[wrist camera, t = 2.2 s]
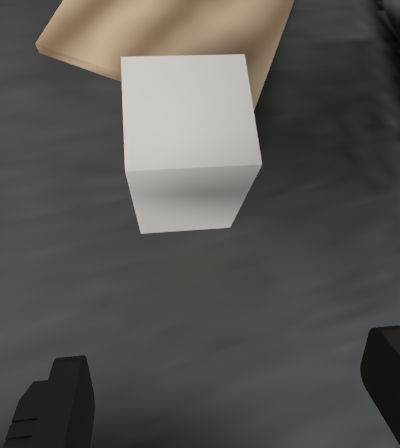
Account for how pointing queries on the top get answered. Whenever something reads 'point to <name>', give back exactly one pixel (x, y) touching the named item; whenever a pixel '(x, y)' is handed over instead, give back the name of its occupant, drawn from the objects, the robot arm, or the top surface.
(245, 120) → the light grey rectangular block
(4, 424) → the top surface
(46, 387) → the robot arm
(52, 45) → the board
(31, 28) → the top surface
